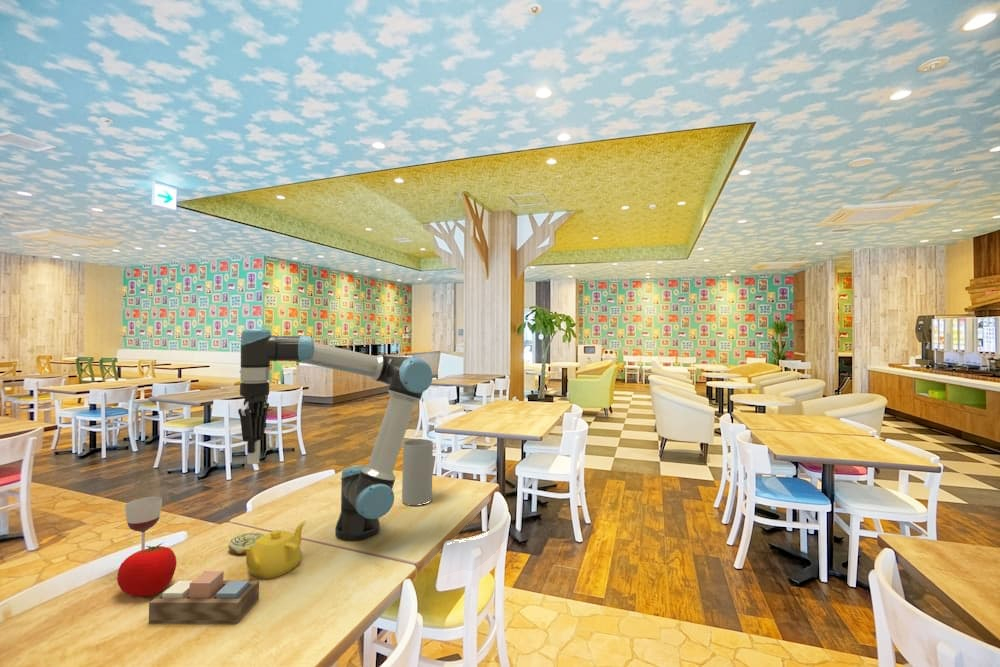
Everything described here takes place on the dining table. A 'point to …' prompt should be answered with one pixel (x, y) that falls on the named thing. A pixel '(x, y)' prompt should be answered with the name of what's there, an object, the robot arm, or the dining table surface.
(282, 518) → the dining table surface
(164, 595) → the ivory key
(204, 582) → the terracotta key
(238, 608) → the key block
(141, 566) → the tomato
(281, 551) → the teapot
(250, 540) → the decorated donut
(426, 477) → the cylinder vase
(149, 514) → the wineglass
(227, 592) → the slate key
